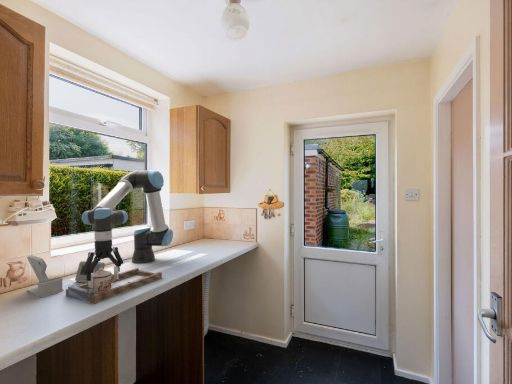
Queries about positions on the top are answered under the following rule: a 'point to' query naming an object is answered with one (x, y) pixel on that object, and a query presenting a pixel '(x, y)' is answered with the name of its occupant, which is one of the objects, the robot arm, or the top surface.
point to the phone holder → (43, 279)
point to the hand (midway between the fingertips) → (104, 282)
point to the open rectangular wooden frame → (88, 296)
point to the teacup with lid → (102, 281)
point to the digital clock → (82, 277)
